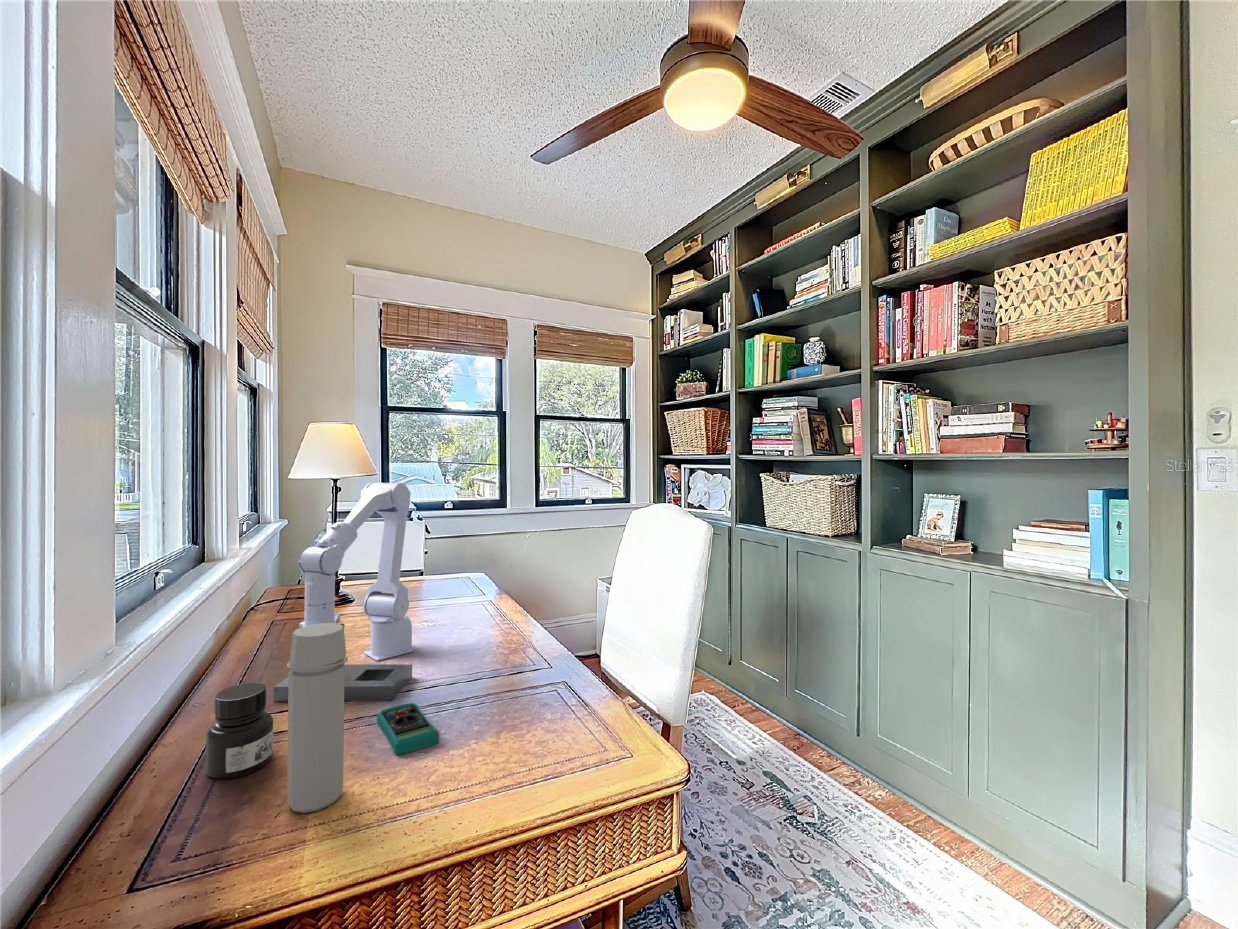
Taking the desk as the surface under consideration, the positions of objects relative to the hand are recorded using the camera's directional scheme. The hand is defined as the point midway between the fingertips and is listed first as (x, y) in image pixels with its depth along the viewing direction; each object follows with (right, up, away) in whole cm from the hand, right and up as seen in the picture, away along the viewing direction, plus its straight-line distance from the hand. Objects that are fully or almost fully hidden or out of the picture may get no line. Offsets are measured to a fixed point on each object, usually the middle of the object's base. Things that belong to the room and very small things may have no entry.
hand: (319, 664), depth 116 cm
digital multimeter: (+26, -6, -18) cm, 32 cm away
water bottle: (+21, -6, -37) cm, 43 cm away
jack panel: (+6, -5, 0) cm, 8 cm away
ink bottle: (+3, -6, -29) cm, 30 cm away
